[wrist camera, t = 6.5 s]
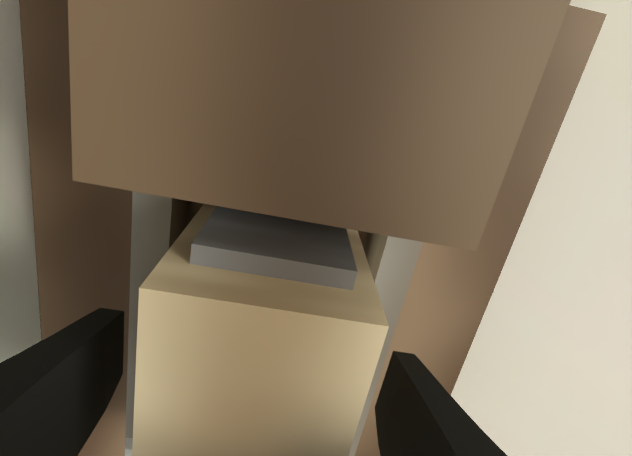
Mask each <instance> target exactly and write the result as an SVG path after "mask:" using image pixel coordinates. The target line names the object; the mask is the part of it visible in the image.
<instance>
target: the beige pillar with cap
mask: <svg viewBox="0 0 632 456" xmlns="http://www.w3.org/2000/svg"><path fill="white" fill-rule="evenodd" d="M388 328H389V325H388V322H387V319H386V316H385V313H384V310H383V307H382V304H381V301H380V298H379V295H378V292H377V288H376V285H375V282H374V279H373V276H372V273H371V270H370V267H369V264H368V261H367V258H366V255H365V252H364V249H363V246H362V243H361V240H360V237H359V234H358V231H357V230H351V229H346V228H340V227H334V226H329V225H323V224H317V223H311V222H306V221H300V220H294V219H289V218H283V217H277V216H272V215H266V214H260V213H254V212H249V211H243V210H237V209H232V208H226V207H220V206H214V205H209V204H204V205H203V206H202V207H201V209H200V210H199V211H198V212H197V214H196V215H195V216H194V218H193V219H192V220H191V221H190V223H189V224H188V225H187V227H186V228H185V229H184V230H183V232H182V233H181V234H180V236H179V237H178V238H177V240H176V241H175V242H174V243H173V245H172V246H171V247H170V249H169V250H168V251H167V252H166V254H165V255H164V256H163V258H162V259H161V260H160V261H159V263H158V264H157V265H156V267H155V268H154V269H153V270H152V272H151V273H150V274H149V276H148V277H147V278H146V280H145V281H144V282H143V283H142V285H141V286H140V287H139V301H138V325H137V349H136V372H135V396H134V420H133V444H132V456H348V455H349V452H350V449H351V446H352V442H353V439H354V436H355V433H356V430H357V427H358V423H359V420H360V417H361V414H362V411H363V407H364V404H365V401H366V398H367V395H368V392H369V388H370V385H371V382H372V379H373V376H374V373H375V369H376V366H377V363H378V360H379V357H380V354H381V350H382V347H383V344H384V341H385V338H386V335H387V331H388Z"/></svg>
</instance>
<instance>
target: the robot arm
mask: <svg viewBox="0 0 632 456" xmlns="http://www.w3.org/2000/svg"><path fill="white" fill-rule="evenodd" d="M123 351H124V311H120V310H113V309H106V308H99V309H97V310H95V311H93V312H91V313H89V314H88V315H86V316H84V317H82V318H81V319H79V320H77V321H75V322H74V323H72V324H70V325H68V326H67V327H65V328H63V329H62V330H60V331H58V332H56V333H55V334H53V335H51V336H49V337H48V338H46V339H44V340H42V341H40V342H39V343H37V344H35V345H33V346H32V347H30V348H28V349H26V350H24V351H23V352H21V353H19V354H17V355H15V356H13V357H11V358H9V359H7V360H5V361H3V362H1V363H0V456H78V454H79V452H80V451H81V449H82V448H83V446H84V445H85V443H86V441H87V440H88V438H89V437H90V435H91V433H92V432H93V430H94V429H95V427H96V425H97V424H98V422H99V420H100V419H101V417H102V416H103V414H104V412H105V411H106V408H107V406H108V404H109V402H110V400H111V398H112V396H113V394H114V392H115V390H116V388H117V385H118V383H119V381H120V379H121V377H122V375H123ZM375 417H376V428H377V437H378V446H379V450H380V455H381V456H507V455H506V454H505V453H504V452H503V451H502V450H501V449H500V448H499V447H498V446H497V445H496V444H495V443H494V442H493V441H492V440H491V439H490V438H489V437H488V436H487V435H486V434H485V433H484V432H483V431H482V430H481V429H480V428H479V426H478V425H477V424H476V423H475V422H474V421H473V420H472V419H471V418H470V417H469V416H468V415H467V413H466V412H465V411H464V410H463V409H462V408H461V407H460V406H459V405H458V403H457V402H456V401H455V400H454V399H453V398H452V397H451V395H450V394H449V393H448V392H447V391H446V390H445V388H444V387H443V386H442V385H441V384H440V383H439V381H438V380H437V379H436V378H435V377H434V376H433V374H432V373H431V372H430V371H429V370H428V369H427V367H426V366H425V365H424V364H423V363H422V362H421V361H420V359H419V358H418V357H417V356H416V355H415V354H412V353H405V352H398V351H393V353H392V356H391V359H390V362H389V365H388V368H387V371H386V374H385V377H384V380H383V383H382V386H381V389H380V392H379V396H378V399H377V402H376V405H375Z"/></svg>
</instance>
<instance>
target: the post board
mask: <svg viewBox="0 0 632 456" xmlns="http://www.w3.org/2000/svg"><path fill="white" fill-rule="evenodd" d="M570 1H571V0H19V3H20V19H21V34H22V49H23V64H24V79H25V94H26V110H27V125H28V140H29V155H30V170H31V185H32V201H33V216H34V231H35V246H36V261H37V276H38V292H39V307H40V322H41V337H42V340H44V339H46V338H48V337H49V336H51V335H53V334H55V333H56V332H58V331H60V330H62V329H63V328H65V327H67V326H68V325H70V324H72V323H74V322H75V321H77V320H79V319H81V318H82V317H84V316H86V315H88V314H89V313H91V312H93V311H95V310H97V309H99V308H106V309H113V310H120V311H124V351H123V375H122V377H121V379H120V381H119V383H118V385H117V388H116V390H115V392H114V394H113V396H112V398H111V400H110V402H109V404H108V406H107V408H106V411H105V412H104V414H103V416H102V417H101V419H100V420H99V422H98V424H97V425H96V427H95V429H94V430H93V432H92V433H91V435H90V437H89V438H88V440H87V441H86V443H85V445H84V446H83V448H82V449H81V451H80V452H79V454H78V456H132V444H133V420H134V396H135V372H136V349H137V325H138V301H139V287H140V286H141V285H142V283H143V282H144V281H145V280H146V278H147V277H148V276H149V274H150V273H151V272H152V270H153V269H154V268H155V267H156V265H157V264H158V263H159V261H160V260H161V259H162V258H163V256H164V255H165V254H166V252H167V251H168V250H169V249H170V247H171V246H172V245H173V243H174V242H175V241H176V240H177V238H178V237H179V236H180V234H181V233H182V232H183V230H184V229H185V228H186V227H187V225H188V224H189V223H190V221H191V220H192V219H193V218H194V216H195V215H196V214H197V212H198V211H199V210H200V209H201V207H202V206H203V205H204V204H209V205H214V206H220V207H226V208H232V209H237V210H243V211H249V212H254V213H260V214H266V215H272V216H277V217H283V218H289V219H294V220H300V221H306V222H311V223H317V224H323V225H329V226H334V227H340V228H346V229H351V230H357V231H358V234H359V237H360V240H361V243H362V246H363V249H364V252H365V255H366V258H367V261H368V264H369V267H370V270H371V273H372V276H373V279H374V282H375V285H376V288H377V292H378V295H379V298H380V301H381V304H382V307H383V310H384V313H385V316H386V319H387V322H388V325H389V328H388V331H387V335H386V338H385V341H384V344H383V347H382V350H381V354H380V357H379V360H378V363H377V366H376V369H375V373H374V376H373V379H372V382H371V385H370V388H369V392H368V395H367V398H366V401H365V404H364V407H363V411H362V414H361V417H360V420H359V423H358V427H357V430H356V433H355V436H354V439H353V442H352V446H351V449H350V452H349V455H348V456H381V455H380V450H379V446H378V437H377V428H376V417H375V405H376V402H377V399H378V396H379V392H380V389H381V386H382V383H383V380H384V377H385V374H386V371H387V368H388V365H389V362H390V359H391V356H392V353H393V351H398V352H405V353H412V354H415V355H416V356H417V357H418V358H419V359H420V361H421V362H422V363H423V364H424V365H425V366H426V367H427V369H428V370H429V371H430V372H431V373H432V374H433V376H434V377H435V378H436V379H437V380H438V381H439V383H440V384H441V385H442V386H443V387H444V388H445V390H446V391H447V392H448V393H449V394H450V395H451V393H452V390H453V388H454V385H455V383H456V380H457V378H458V376H459V373H460V371H461V368H462V366H463V363H464V361H465V359H466V356H467V354H468V351H469V349H470V346H471V344H472V341H473V339H474V337H475V334H476V332H477V329H478V327H479V324H480V322H481V320H482V317H483V315H484V312H485V310H486V307H487V305H488V302H489V300H490V298H491V295H492V293H493V290H494V288H495V285H496V283H497V281H498V278H499V276H500V273H501V271H502V268H503V266H504V263H505V261H506V259H507V256H508V254H509V251H510V249H511V246H512V244H513V241H514V239H515V237H516V234H517V232H518V229H519V227H520V224H521V222H522V220H523V217H524V215H525V212H526V210H527V207H528V205H529V202H530V200H531V198H532V195H533V193H534V190H535V188H536V185H537V183H538V181H539V178H540V176H541V173H542V171H543V168H544V166H545V163H546V161H547V159H548V156H549V154H550V151H551V149H552V146H553V144H554V142H555V139H556V137H557V134H558V132H559V129H560V127H561V124H562V122H563V120H564V117H565V115H566V112H567V110H568V107H569V105H570V103H571V100H572V98H573V95H574V93H575V90H576V88H577V85H578V83H579V81H580V78H581V76H582V73H583V71H584V68H585V66H586V63H587V61H588V59H589V56H590V54H591V51H592V49H593V46H594V44H595V42H596V39H597V37H598V34H599V32H600V29H601V27H602V24H603V22H604V20H605V17H606V15H607V14H603V13H599V12H595V11H591V10H587V9H582V8H578V7H574V6H570V5H569V4H570Z"/></svg>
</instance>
